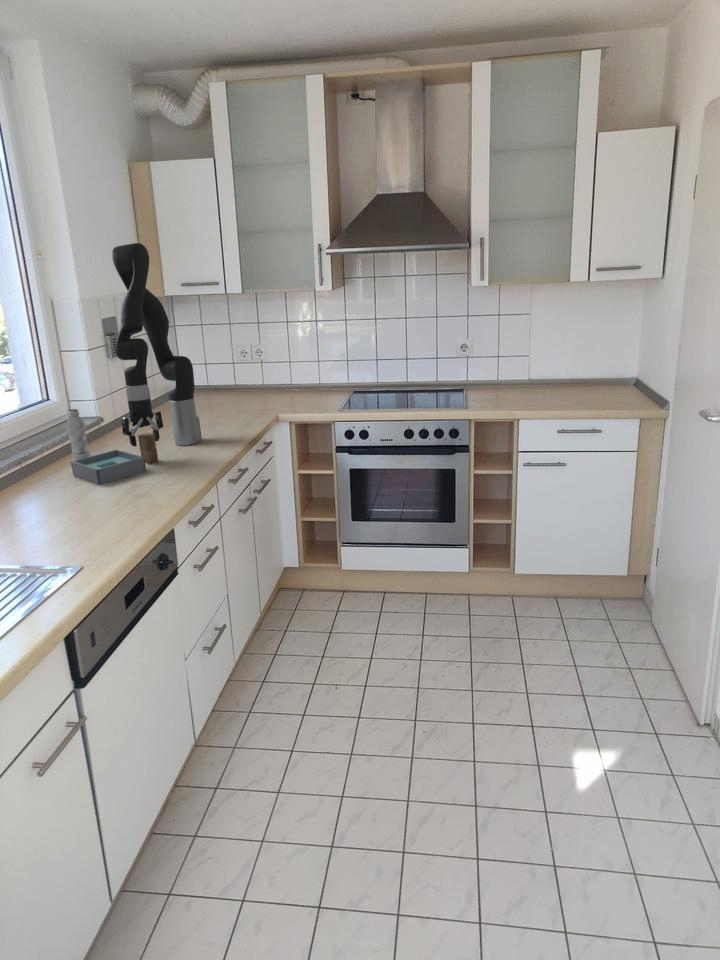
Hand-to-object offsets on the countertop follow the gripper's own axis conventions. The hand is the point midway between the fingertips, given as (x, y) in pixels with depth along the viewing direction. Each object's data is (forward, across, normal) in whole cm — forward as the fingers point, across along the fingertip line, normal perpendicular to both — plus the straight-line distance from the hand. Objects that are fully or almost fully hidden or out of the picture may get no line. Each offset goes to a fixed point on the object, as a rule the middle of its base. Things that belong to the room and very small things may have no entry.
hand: (145, 443), depth 247 cm
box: (+7, +15, 0) cm, 16 cm away
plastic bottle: (+7, +16, -18) cm, 25 cm away
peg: (+7, -1, 0) cm, 7 cm away
